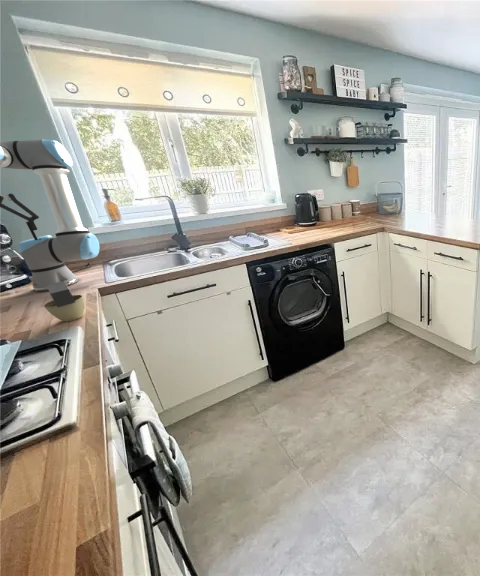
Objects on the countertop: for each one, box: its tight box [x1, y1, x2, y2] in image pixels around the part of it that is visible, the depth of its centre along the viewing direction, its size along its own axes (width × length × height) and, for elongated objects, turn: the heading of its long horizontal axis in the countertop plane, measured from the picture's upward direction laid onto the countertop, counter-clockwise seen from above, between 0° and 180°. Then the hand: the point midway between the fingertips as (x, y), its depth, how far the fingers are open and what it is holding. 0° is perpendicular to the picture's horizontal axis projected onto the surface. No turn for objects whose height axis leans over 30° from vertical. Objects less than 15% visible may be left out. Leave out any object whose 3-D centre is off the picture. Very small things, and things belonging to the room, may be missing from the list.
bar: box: [47, 282, 75, 307], centre depth 107 cm, size 14×4×5 cm, turn 50°
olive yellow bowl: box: [43, 294, 85, 323], centre depth 110 cm, size 10×10×7 cm
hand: (9, 244), depth 108 cm, fingers open, 13 cm apart
